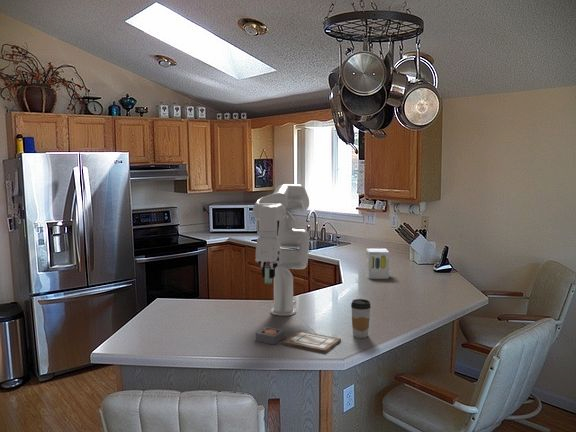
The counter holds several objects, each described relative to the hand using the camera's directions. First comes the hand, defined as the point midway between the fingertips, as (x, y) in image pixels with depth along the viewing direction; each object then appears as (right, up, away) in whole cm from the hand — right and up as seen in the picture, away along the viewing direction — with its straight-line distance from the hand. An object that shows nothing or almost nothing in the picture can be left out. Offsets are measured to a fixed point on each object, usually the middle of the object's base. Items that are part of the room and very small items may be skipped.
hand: (268, 276), depth 210 cm
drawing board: (+18, -26, -8) cm, 33 cm away
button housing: (+1, -26, -4) cm, 26 cm away
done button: (+1, -24, -4) cm, 25 cm away
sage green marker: (0, -3, 0) cm, 3 cm away
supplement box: (+66, -14, +111) cm, 130 cm away
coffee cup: (+39, -25, +1) cm, 47 cm away
